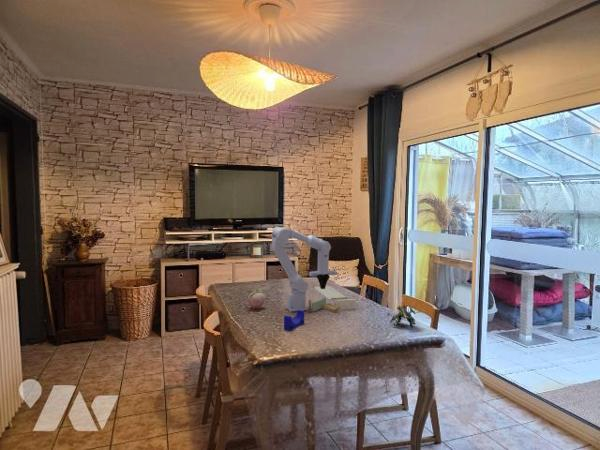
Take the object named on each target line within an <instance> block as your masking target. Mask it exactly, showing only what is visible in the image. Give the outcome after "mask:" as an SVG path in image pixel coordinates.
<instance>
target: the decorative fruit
mask: <svg viewBox="0 0 600 450" xmlns="http://www.w3.org/2000/svg"><path fill="white" fill-rule="evenodd" d="M255 290H256V291H253V292H251V293H250V294H249V295H248V296H247V297H248V298H247V302H248V304H249V305H250V307H251V308H254V309H255V310H257V309H260V308H261V307H262V306H263V305H264V304H265V302H266V299H267V297H266V295H265V292H264V291H262V290H258V289H255Z"/></svg>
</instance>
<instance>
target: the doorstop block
mask: <svg viewBox="0 0 600 450" xmlns="http://www.w3.org/2000/svg"><path fill="white" fill-rule="evenodd" d="M322 309H323V310H326V311H328V312H331V313H334V314H337V313H341V311H342V310H341V308H340V307H338V306H337V305H334V304H332V303H328V302H327V303H326V304H323V308H322Z"/></svg>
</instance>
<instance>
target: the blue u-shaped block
mask: <svg viewBox="0 0 600 450" xmlns="http://www.w3.org/2000/svg"><path fill="white" fill-rule="evenodd" d="M304 324H305V310H304V311H302V310H297V311H296V315H294V316H291V315H287V314H286V315H284V316H283V330H284V331H285V330H286V331H292V330H294V329H297V328H298V327H300V326H302V325H304Z"/></svg>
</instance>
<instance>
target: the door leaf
mask: <svg viewBox="0 0 600 450" xmlns="http://www.w3.org/2000/svg"><path fill="white" fill-rule="evenodd" d="M323 304H327V297H323V298H320V299H318V300H314V301H311V312H316V311H319V310H321V309H323Z"/></svg>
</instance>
